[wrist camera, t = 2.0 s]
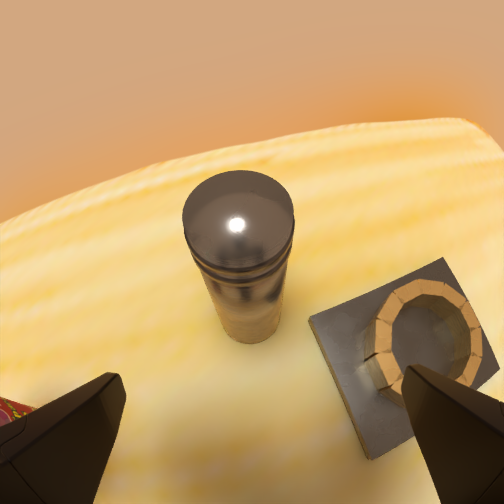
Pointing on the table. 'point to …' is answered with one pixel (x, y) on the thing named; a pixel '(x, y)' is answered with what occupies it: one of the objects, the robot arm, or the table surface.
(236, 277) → the piston
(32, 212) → the table surface
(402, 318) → the ring collar
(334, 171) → the table surface
